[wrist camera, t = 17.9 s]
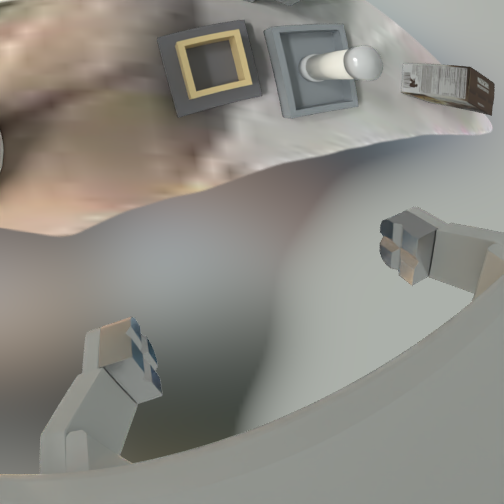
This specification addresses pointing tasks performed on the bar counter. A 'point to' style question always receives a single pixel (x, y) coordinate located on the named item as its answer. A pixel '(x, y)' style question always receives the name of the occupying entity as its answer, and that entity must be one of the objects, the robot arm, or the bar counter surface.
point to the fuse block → (209, 66)
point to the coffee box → (449, 86)
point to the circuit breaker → (286, 0)
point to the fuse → (342, 65)
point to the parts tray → (289, 79)
